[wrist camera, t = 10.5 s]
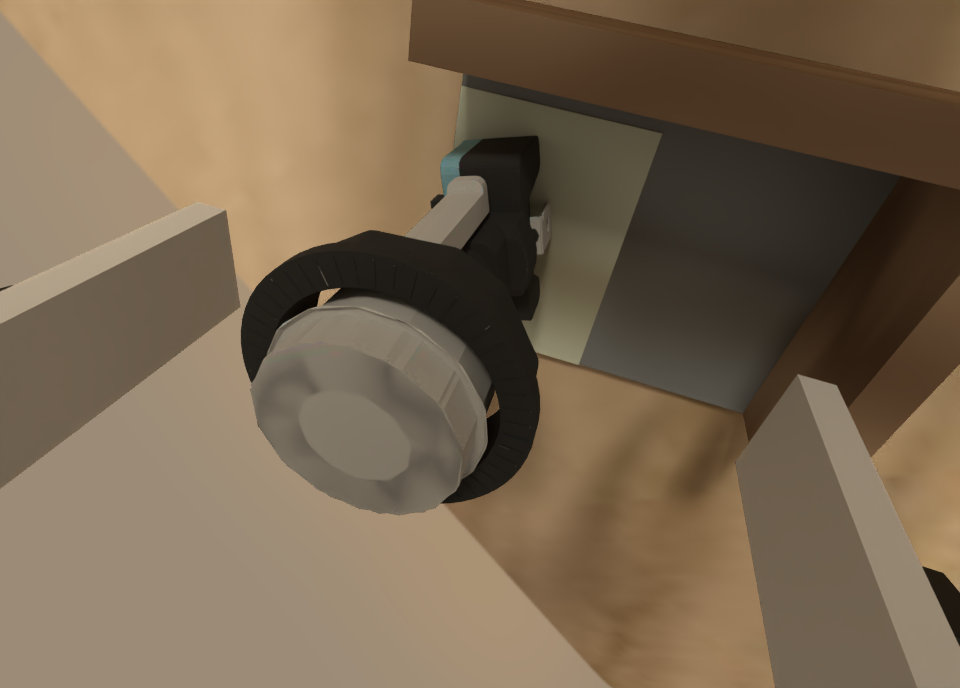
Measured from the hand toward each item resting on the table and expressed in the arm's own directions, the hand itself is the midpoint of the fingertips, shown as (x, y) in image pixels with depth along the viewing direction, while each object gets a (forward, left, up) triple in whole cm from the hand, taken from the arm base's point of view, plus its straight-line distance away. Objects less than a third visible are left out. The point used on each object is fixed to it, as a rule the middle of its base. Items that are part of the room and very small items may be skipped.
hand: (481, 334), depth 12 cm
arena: (-1, +3, -6) cm, 7 cm away
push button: (0, -1, -6) cm, 6 cm away
